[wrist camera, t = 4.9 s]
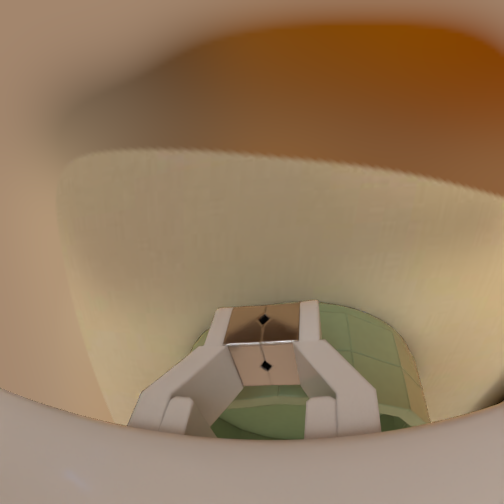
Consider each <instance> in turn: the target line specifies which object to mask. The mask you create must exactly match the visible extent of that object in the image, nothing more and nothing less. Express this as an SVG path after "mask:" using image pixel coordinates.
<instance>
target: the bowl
mask: <svg viewBox="0 0 504 504" xmlns="http://www.w3.org/2000/svg"><path fill="white" fill-rule="evenodd" d="M291 303H297V302H291ZM278 304H286V303H278ZM272 305H276V304H272ZM319 311H320V322H321V333H322V340H323V339H325V340H326V341H327V342H328V343H329V344H330V345H331V346H332V347H334V348H335V349H336V350H337V351H338V352H339V353H340V354H341V355H342V356H343V357H344V358H345V359H346V360H347V361H348V362H349V363H350V364H351V365H352V366H353V367H354V368H355V369H356V370H357V371H358V372H359V373H360V374H361V375H362V376H363V377H364V378H365V379H366V380H367V381H368V382H369V383H370V384H371V385H372V386H373V387H374V388H375V389H376V393H377V400H378V408H379V415H380V424H381V432H385V431H391V430H397V429H403V428H408V427H413V426H418V425H423V424H428V423H430V418H429V414H428V409H427V405H426V401H425V397H424V393H423V389H422V385H421V381H420V377H419V374H418V370H417V366H416V363H415V359H414V357H413V356H412V354H411V353H410V351H409V348H408V346H407V344H406V343H405V341H404V340H403V338H402V337H401V336H400V335H399V334H398V333H397V332H396V331H395V330H394V329H393V328H392V327H391V326H389V325H388V324H386V323H385V322H383V321H382V320H380V319H378V318H376V317H374V316H372V315H370V314H368V313H365V312H362V311H359V310H356V309H353V308H349V307H344V306H340V305H335V304H326V303H319ZM209 329H210V328H209ZM209 329H208V330H207V331H205V332H204V333H203V334H202V335H201V336H200V337H199V339H198V340H197V341H196V342H195V344H194V345H193V347H192V349H191V351H190V353H191V352H192V351H194V350H195V349H196V348H197V347H199V346H204V344H205V341H206V338H207V335H208V332H209ZM190 353H189V354H190ZM308 400H309V397H308V396H307V394H306V393H305V392H304V390H303V389H302V387H301V385H266V386H243V389H242V390H241V392H240V393H239V394H238V395H237V396H236V398H235V399H234V400H233V401H232V402H231V403H230V405H229V406H228V407H227V408H226V409H225V410H224V412H223V413H222V414H221V415H220V416H219V417H218V418H217V420H216V421H215V422H214V423H213V424H212V425H211V426H210V428H211V429H212V431H213V432H214V434H215V435H216V437H217V438H226V439H247V440H298V439H304V431H305V416H306V402H307V401H308Z"/></svg>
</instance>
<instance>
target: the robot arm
mask: <svg viewBox="0 0 504 504" xmlns="http://www.w3.org/2000/svg"><path fill="white" fill-rule="evenodd" d="M266 385H301V387H302V389H303V390H304V392H305V393H306V394H307V396H308V397H309V400H308V401H307V402H306V416H305V431H304V439H298V440H247V439H226V438H217V437H216V435H215V434H214V432H213V431H212V429H211V428H210V426H211V425H212V424H213V423H214V422H215V421H216V420H217V418H218V417H219V416H220V415H221V414H222V413H223V412H224V410H225V409H226V408H227V407H228V406H229V405H230V403H231V402H232V401H233V400H234V399H235V398H236V396H237V395H238V394H239V393H240V392H241V390H242V389H243V386H266ZM0 504H504V402H502V403H499V404H497V405H494V406H491V407H487V408H484V409H481V410H478V411H475V412H471V413H468V414H464V415H461V416H457V417H453V418H449V419H445V420H441V421H437V422H432V423H428V424H423V425H418V426H413V427H408V428H403V429H397V430H391V431H385V432H381V424H380V415H379V408H378V400H377V393H376V389H375V388H374V387H373V386H372V385H371V384H370V383H369V382H368V381H367V380H366V379H365V378H364V377H363V376H362V375H361V374H360V373H359V372H358V371H357V370H356V369H355V368H354V367H353V366H352V365H351V364H350V363H349V362H348V361H347V360H346V359H345V358H344V357H343V356H342V355H341V354H340V353H339V352H338V351H337V350H336V349H335V348H334V347H332V346H331V345H330V344H329V343H328V342H327V341H326V340H325V339H323V340H322V333H321V322H320V311H319V302H318V300H310V301H302V302H297V303H286V304H276V305H261V306H242V307H226V308H218V309H217V310H216V312H215V314H214V317H213V320H212V323H211V326H210V329H209V332H208V335H207V338H206V341H205V344H204V346H199V347H197V348H196V349H195V350H194V351H192V352H191V353H190V354H189V355H187V356H186V357H185V358H184V359H182V360H181V361H180V362H179V363H178V364H176V365H175V366H174V367H173V368H171V369H170V370H169V371H167V372H166V373H165V374H164V375H162V376H161V377H160V378H159V379H157V380H156V381H155V382H154V383H152V384H151V385H150V386H148V387H147V388H146V389H145V390H143V391H142V392H141V395H140V397H139V399H138V401H137V404H136V406H135V408H134V411H133V413H132V415H131V418H130V420H129V422H128V425H127V426H125V425H120V424H115V423H111V422H106V421H102V420H98V419H94V418H89V417H86V416H82V415H78V414H75V413H71V412H68V411H64V410H61V409H58V408H54V407H51V406H48V405H45V404H42V403H38V402H36V401H33V400H30V399H28V398H25V397H22V396H19V395H17V394H14V393H11V392H9V391H7V390H4V389H2V388H0Z"/></svg>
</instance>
